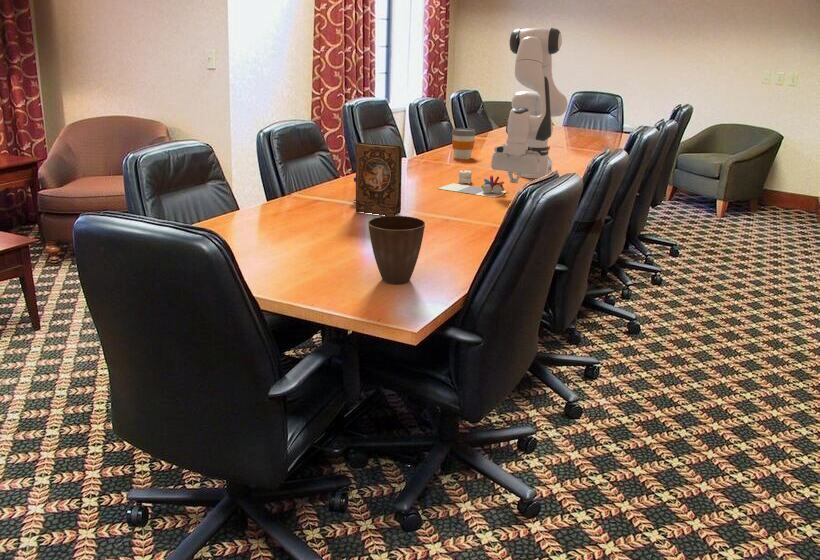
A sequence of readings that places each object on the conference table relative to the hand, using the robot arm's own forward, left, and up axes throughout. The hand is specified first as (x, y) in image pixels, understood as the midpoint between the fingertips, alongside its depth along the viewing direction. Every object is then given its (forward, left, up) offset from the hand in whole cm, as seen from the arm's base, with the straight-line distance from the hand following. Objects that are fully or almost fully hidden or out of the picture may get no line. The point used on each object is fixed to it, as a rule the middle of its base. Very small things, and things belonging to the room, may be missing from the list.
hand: (514, 182), depth 286 cm
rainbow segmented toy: (-1, -10, -6) cm, 11 cm away
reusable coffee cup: (-71, -60, -6) cm, 93 cm away
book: (+58, -29, -6) cm, 65 cm away
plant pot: (+115, +15, -6) cm, 116 cm away
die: (-13, -29, -6) cm, 32 cm away
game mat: (0, -19, -6) cm, 19 cm away
